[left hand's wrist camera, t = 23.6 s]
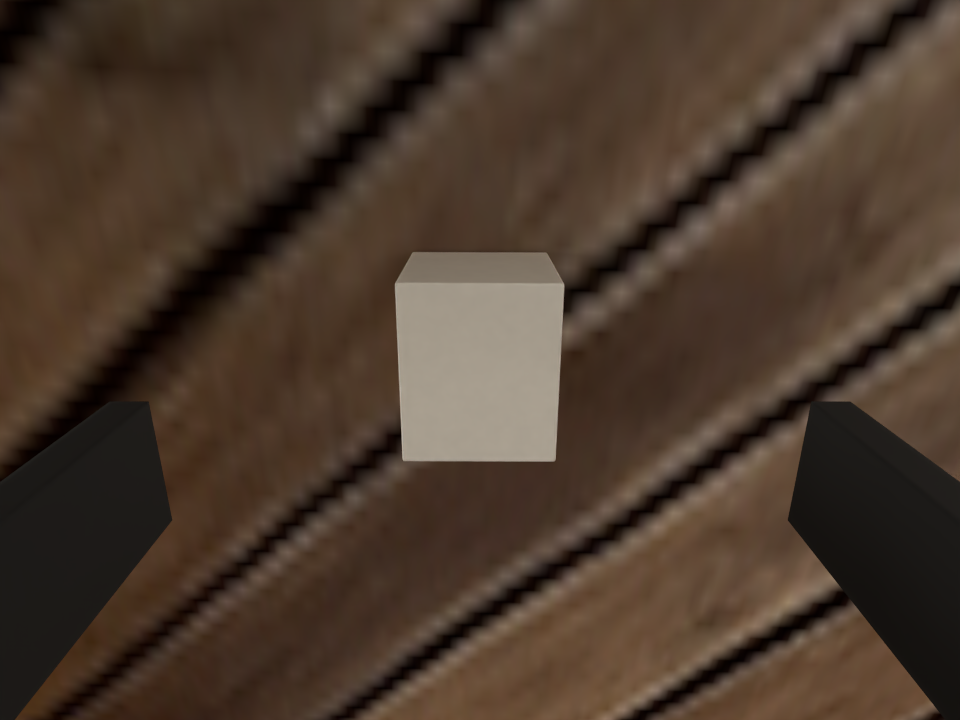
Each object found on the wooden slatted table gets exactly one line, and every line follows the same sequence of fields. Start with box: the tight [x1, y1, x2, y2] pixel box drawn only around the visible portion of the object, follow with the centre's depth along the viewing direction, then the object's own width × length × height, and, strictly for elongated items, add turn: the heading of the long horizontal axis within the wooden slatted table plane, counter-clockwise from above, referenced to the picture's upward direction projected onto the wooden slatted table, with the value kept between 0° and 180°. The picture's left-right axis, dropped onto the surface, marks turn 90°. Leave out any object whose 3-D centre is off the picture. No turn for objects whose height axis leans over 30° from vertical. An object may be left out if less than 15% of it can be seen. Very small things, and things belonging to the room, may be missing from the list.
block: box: [395, 252, 564, 461], centre depth 19 cm, size 4×5×4 cm
